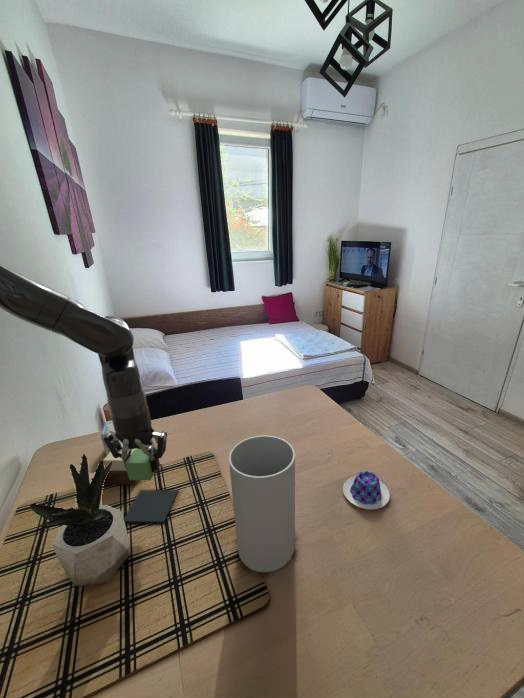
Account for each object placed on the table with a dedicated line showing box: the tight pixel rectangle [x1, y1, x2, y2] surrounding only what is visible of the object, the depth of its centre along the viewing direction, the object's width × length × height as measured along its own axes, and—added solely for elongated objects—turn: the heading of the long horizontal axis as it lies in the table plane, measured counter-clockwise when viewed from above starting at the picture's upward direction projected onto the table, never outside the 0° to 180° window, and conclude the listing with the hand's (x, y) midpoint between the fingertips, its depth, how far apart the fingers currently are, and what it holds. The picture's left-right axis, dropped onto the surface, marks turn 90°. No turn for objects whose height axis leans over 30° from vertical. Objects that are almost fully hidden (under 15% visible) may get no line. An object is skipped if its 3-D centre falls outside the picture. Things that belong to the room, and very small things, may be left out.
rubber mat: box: [123, 489, 179, 524], centre depth 82 cm, size 10×10×1 cm
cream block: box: [102, 445, 137, 471], centre depth 91 cm, size 7×7×4 cm
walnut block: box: [103, 471, 140, 486], centre depth 93 cm, size 9×9×4 cm
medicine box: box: [100, 420, 123, 456], centre depth 102 cm, size 8×4×9 cm, turn 22°
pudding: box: [342, 470, 391, 510], centre depth 85 cm, size 12×12×5 cm
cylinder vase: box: [228, 434, 296, 573], centre depth 67 cm, size 12×12×25 cm
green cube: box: [125, 449, 156, 481], centre depth 77 cm, size 5×5×5 cm
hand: (143, 469), depth 78 cm, fingers closed on green cube, 5 cm apart
